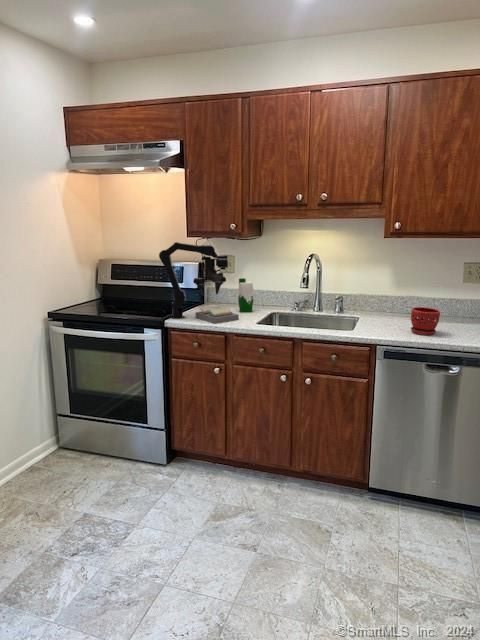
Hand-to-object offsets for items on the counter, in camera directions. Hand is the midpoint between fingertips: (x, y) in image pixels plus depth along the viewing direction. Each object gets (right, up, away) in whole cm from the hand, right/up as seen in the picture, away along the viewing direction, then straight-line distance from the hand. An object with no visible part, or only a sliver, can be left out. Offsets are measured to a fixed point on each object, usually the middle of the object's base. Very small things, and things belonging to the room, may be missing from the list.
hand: (210, 294), depth 266 cm
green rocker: (+6, -11, -6) cm, 14 cm away
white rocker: (0, -9, +2) cm, 9 cm away
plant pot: (+108, -21, -36) cm, 116 cm away
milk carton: (+21, -9, +18) cm, 29 cm away
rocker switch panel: (+4, -14, -2) cm, 14 cm away
